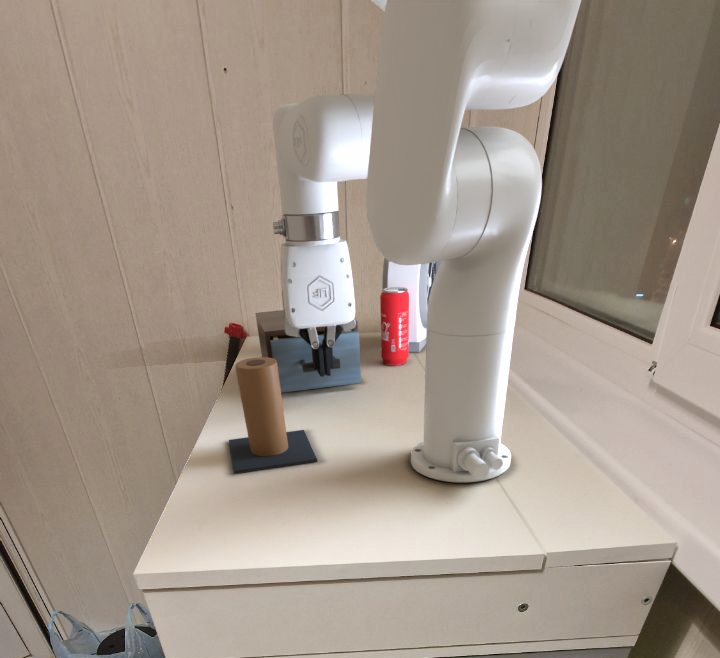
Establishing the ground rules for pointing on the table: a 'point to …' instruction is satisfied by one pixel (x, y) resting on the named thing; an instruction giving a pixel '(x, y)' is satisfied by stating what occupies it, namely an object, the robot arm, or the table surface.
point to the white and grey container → (413, 295)
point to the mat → (294, 455)
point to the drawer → (299, 362)
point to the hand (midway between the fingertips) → (323, 373)
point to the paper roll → (262, 405)
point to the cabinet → (274, 329)
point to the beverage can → (394, 325)
